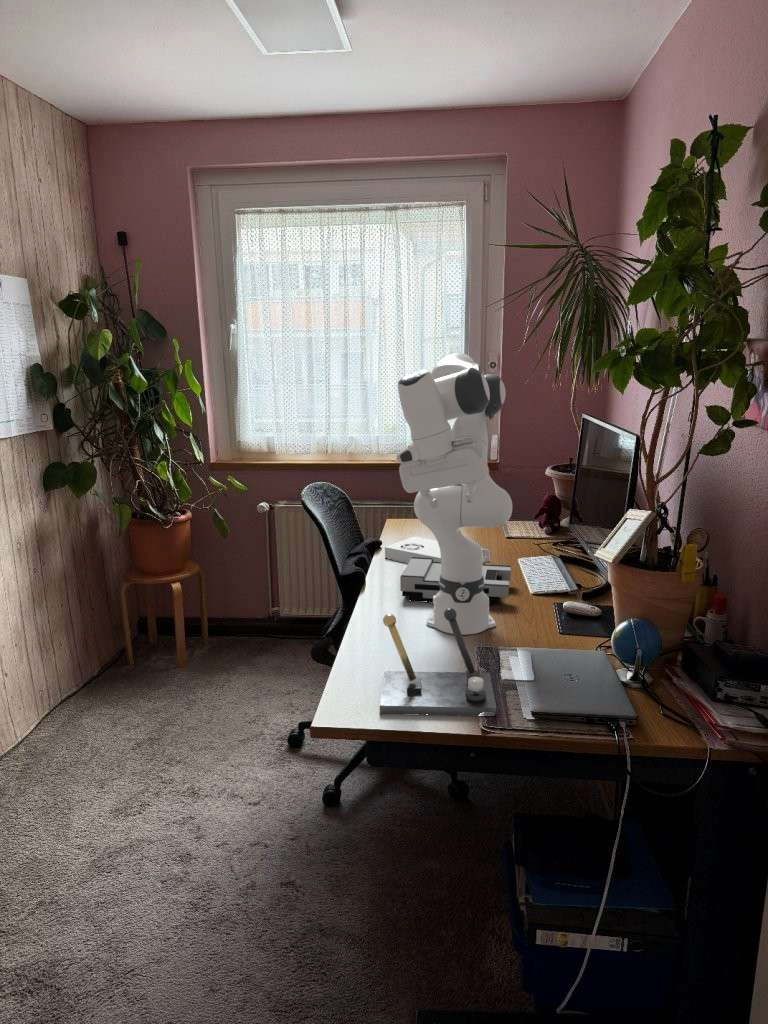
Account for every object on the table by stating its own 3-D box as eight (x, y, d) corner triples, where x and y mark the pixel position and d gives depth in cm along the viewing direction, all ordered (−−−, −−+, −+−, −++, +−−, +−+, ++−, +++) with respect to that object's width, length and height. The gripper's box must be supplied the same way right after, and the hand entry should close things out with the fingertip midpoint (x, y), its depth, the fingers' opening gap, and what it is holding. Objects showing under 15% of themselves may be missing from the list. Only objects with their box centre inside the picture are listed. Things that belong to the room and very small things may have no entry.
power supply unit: (462, 576, 234) (462, 562, 233) (384, 560, 253) (384, 547, 252) (489, 563, 249) (489, 549, 248) (413, 548, 268) (413, 536, 267)
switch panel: (384, 679, 159) (384, 666, 158) (489, 681, 158) (489, 668, 157) (379, 714, 144) (379, 700, 143) (496, 716, 142) (496, 702, 141)
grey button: (467, 684, 147) (467, 676, 147) (482, 684, 147) (482, 676, 146) (468, 691, 144) (468, 683, 143) (483, 691, 144) (484, 683, 143)
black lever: (465, 670, 155) (441, 608, 152) (477, 667, 154) (453, 604, 151) (466, 676, 152) (442, 613, 149) (478, 672, 152) (454, 608, 149)
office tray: (507, 609, 202) (508, 582, 201) (400, 602, 209) (400, 576, 207) (510, 586, 222) (511, 562, 220) (412, 580, 229) (412, 557, 227)
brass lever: (406, 677, 152) (381, 614, 149) (418, 674, 151) (393, 610, 148) (406, 683, 149) (380, 619, 146) (418, 679, 149) (393, 615, 146)
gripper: (483, 432, 147) (500, 492, 150) (402, 449, 158) (420, 505, 162) (472, 440, 142) (490, 502, 145) (389, 458, 153) (408, 515, 157)
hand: (453, 504), depth 154 cm, fingers open, 8 cm apart
